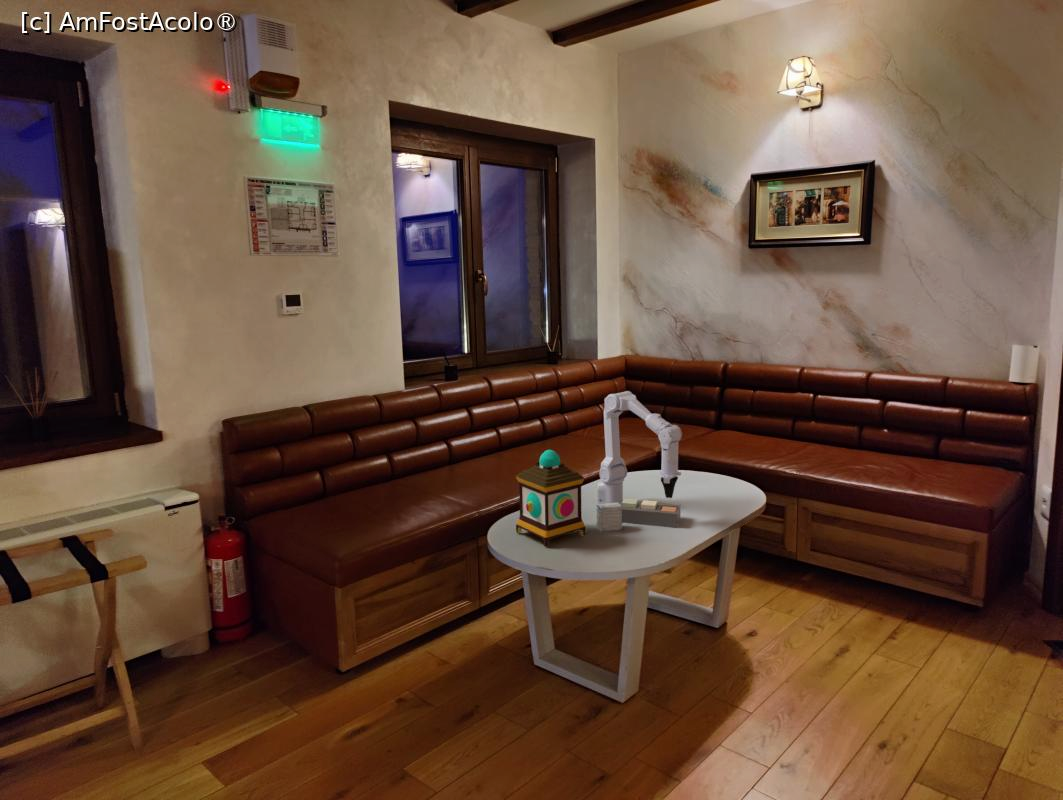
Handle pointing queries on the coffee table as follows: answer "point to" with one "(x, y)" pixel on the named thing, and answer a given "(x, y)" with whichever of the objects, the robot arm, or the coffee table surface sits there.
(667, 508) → the terracotta key
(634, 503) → the sage key
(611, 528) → the medicine box
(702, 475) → the coffee table surface
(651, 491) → the coffee table surface
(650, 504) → the cream key
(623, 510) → the key panel
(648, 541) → the coffee table surface
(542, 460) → the decorative lantern
